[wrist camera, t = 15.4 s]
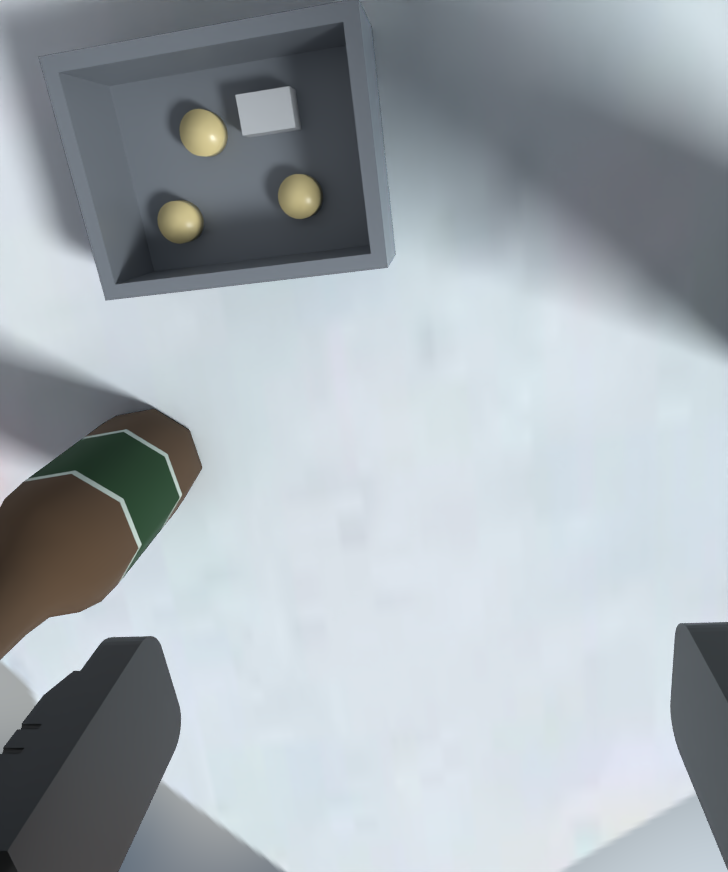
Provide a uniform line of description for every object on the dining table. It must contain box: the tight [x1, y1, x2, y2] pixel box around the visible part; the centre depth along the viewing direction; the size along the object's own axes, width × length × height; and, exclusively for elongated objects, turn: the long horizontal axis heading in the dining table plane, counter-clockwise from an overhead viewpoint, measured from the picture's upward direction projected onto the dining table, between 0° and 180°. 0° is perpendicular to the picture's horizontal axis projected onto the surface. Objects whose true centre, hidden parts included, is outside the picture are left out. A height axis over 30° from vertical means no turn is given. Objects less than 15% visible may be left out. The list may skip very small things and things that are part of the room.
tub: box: [39, 0, 396, 300], centre depth 35 cm, size 16×12×6 cm
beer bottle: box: [0, 409, 202, 660], centre depth 35 cm, size 8×8×24 cm
